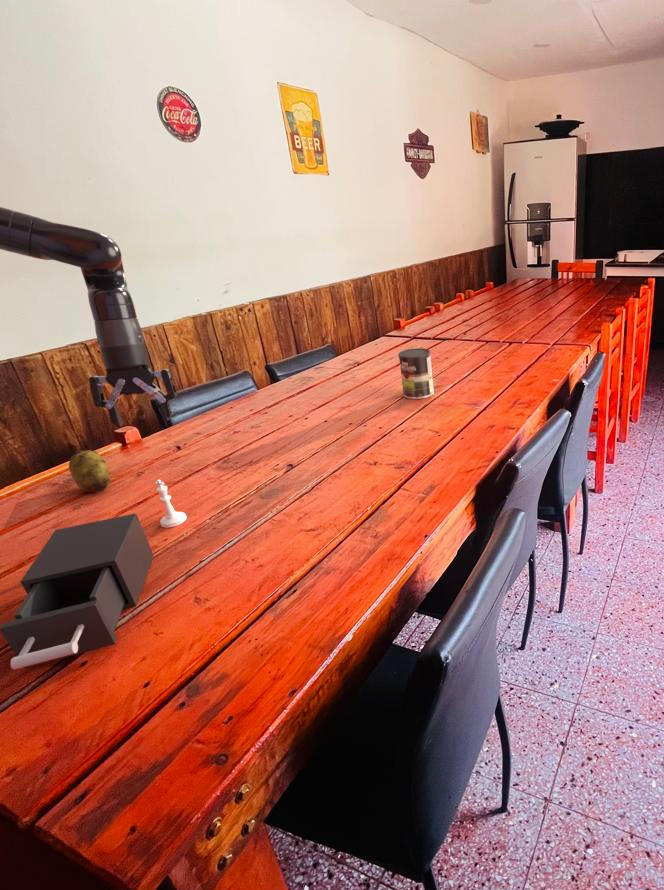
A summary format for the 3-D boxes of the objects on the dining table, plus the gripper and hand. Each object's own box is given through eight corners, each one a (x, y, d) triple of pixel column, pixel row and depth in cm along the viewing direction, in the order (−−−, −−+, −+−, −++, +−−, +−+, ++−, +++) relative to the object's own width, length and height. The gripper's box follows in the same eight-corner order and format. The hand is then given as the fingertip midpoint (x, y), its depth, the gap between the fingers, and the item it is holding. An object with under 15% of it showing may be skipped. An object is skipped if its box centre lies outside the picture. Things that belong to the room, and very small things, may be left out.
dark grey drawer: (105, 671, 72) (83, 630, 68) (8, 698, 69) (-20, 657, 65) (135, 587, 88) (119, 551, 84) (58, 606, 85) (37, 569, 81)
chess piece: (172, 513, 110) (157, 473, 106) (192, 515, 109) (177, 474, 105) (155, 526, 106) (138, 485, 102) (175, 528, 105) (159, 486, 101)
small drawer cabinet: (136, 605, 85) (115, 560, 81) (47, 628, 81) (19, 581, 77) (153, 555, 97) (136, 513, 93) (77, 572, 94) (55, 529, 89)
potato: (70, 502, 117) (56, 472, 113) (79, 479, 127) (66, 450, 124) (113, 492, 120) (100, 462, 117) (118, 470, 131) (106, 442, 127)
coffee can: (420, 401, 163) (415, 358, 157) (397, 396, 169) (391, 354, 163) (440, 391, 171) (436, 350, 165) (417, 386, 176) (412, 346, 170)
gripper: (167, 338, 106) (185, 415, 110) (87, 345, 102) (110, 424, 106) (157, 340, 99) (177, 422, 103) (71, 348, 95) (96, 432, 99)
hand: (143, 423), depth 105 cm, fingers open, 8 cm apart
